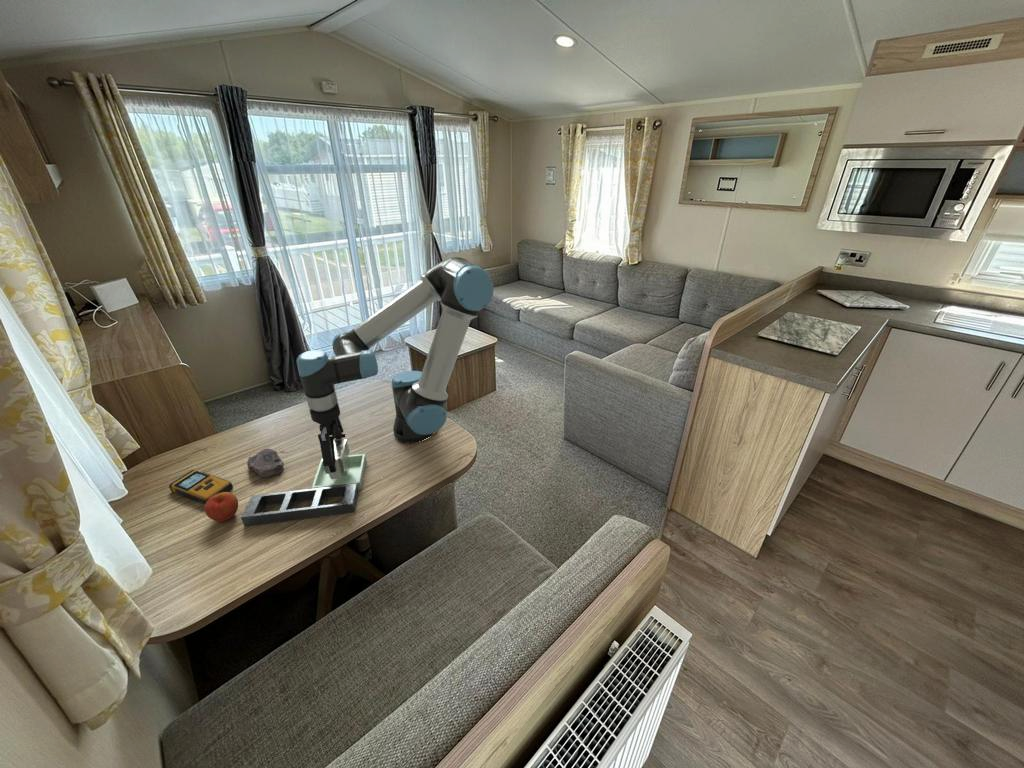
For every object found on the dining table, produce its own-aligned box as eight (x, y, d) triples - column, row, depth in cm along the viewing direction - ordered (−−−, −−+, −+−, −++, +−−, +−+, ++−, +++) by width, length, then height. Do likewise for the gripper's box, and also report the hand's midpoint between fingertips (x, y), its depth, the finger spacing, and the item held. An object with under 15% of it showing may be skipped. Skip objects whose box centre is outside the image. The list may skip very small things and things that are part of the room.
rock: (264, 483, 120) (260, 471, 118) (245, 469, 126) (240, 457, 124) (290, 468, 127) (286, 457, 124) (270, 455, 132) (266, 444, 130)
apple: (231, 503, 113) (222, 482, 109) (248, 512, 111) (239, 491, 107) (204, 521, 108) (193, 500, 104) (221, 531, 105) (210, 509, 101)
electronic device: (209, 508, 112) (204, 500, 110) (170, 493, 117) (166, 485, 115) (236, 488, 119) (232, 480, 117) (199, 475, 123) (195, 466, 122)
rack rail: (358, 492, 118) (356, 483, 116) (354, 512, 111) (352, 503, 109) (255, 504, 113) (251, 495, 111) (244, 526, 106) (240, 517, 105)
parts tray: (366, 461, 130) (365, 453, 129) (361, 489, 119) (359, 482, 117) (323, 465, 128) (321, 458, 126) (313, 495, 117) (311, 487, 115)
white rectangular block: (351, 460, 126) (346, 439, 122) (346, 480, 119) (341, 458, 115) (334, 462, 126) (328, 441, 121) (328, 482, 118) (322, 460, 114)
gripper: (318, 386, 119) (333, 445, 130) (298, 429, 100) (318, 494, 111) (344, 384, 120) (357, 443, 131) (329, 426, 101) (346, 491, 113)
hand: (339, 466), depth 121 cm, fingers open, 9 cm apart
